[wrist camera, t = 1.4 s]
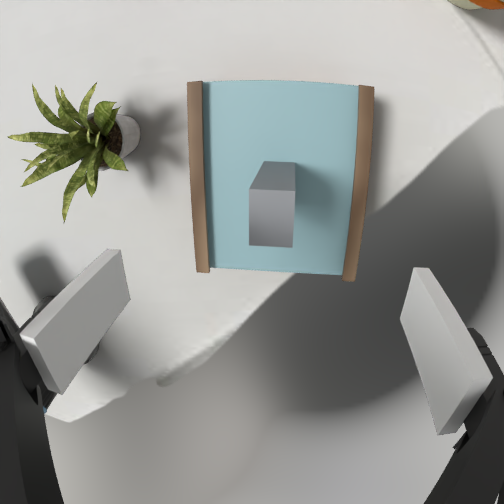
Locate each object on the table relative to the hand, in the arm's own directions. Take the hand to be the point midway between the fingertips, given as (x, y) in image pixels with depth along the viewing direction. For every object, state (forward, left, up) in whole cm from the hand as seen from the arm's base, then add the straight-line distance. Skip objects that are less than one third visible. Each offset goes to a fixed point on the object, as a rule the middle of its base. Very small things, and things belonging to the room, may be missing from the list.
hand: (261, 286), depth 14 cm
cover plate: (0, 0, -21) cm, 21 cm away
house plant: (-20, +6, -27) cm, 34 cm away
